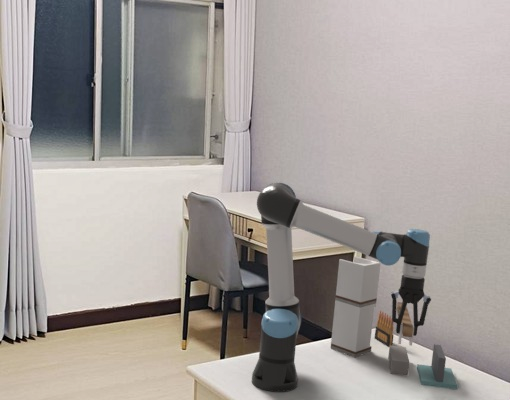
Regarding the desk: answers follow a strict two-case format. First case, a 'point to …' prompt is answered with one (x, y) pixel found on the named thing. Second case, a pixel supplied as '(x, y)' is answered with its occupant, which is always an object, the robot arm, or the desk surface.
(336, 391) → the desk surface
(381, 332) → the ammunition clip
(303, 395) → the desk surface
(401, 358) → the riser block
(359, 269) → the tall open-top box
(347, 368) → the desk surface
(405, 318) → the walnut rod
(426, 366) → the stand
